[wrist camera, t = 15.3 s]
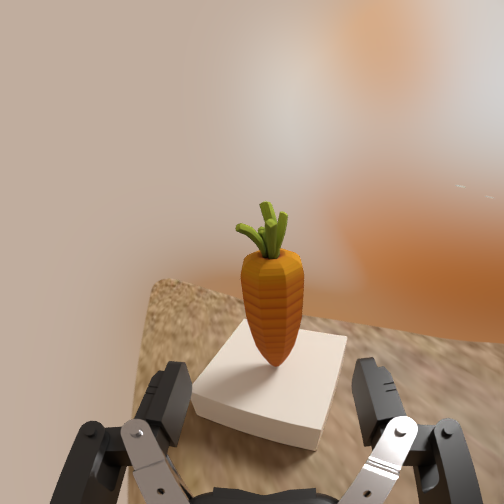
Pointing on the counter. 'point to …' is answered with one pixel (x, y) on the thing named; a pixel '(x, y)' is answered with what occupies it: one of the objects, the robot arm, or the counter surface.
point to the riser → (272, 387)
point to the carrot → (272, 288)
